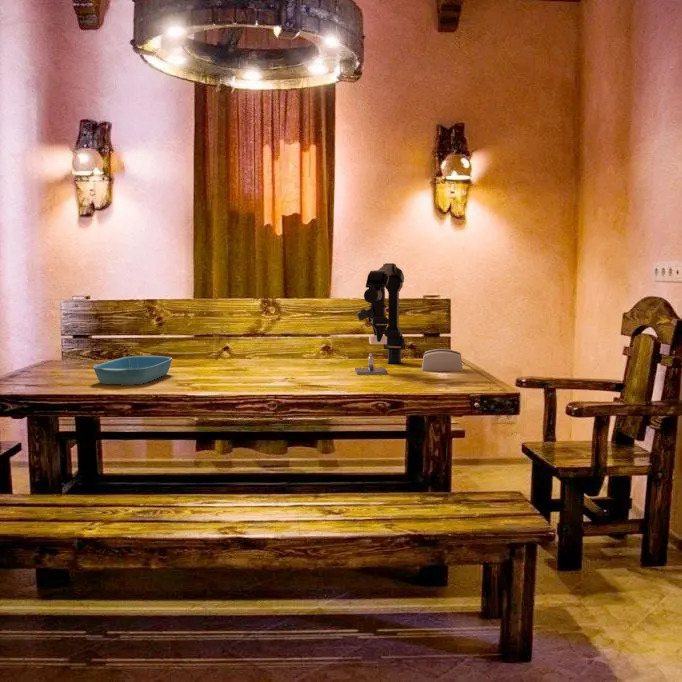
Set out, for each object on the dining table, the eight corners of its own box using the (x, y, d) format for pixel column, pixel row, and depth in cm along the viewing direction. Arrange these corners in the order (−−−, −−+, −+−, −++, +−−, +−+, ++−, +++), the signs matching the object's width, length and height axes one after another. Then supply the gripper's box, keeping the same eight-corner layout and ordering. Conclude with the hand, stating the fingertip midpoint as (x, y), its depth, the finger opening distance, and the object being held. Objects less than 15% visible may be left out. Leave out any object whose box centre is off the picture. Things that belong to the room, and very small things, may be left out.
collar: (369, 342, 296) (369, 335, 295) (384, 342, 296) (384, 335, 296) (370, 344, 289) (371, 336, 289) (386, 344, 290) (386, 336, 289)
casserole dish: (142, 388, 260) (141, 368, 259) (84, 387, 263) (83, 367, 262) (180, 373, 296) (179, 355, 295) (128, 372, 299) (127, 355, 299)
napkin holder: (462, 369, 299) (463, 347, 295) (462, 374, 295) (463, 352, 291) (421, 368, 301) (421, 347, 297) (421, 374, 297) (421, 352, 293)
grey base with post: (354, 370, 298) (354, 352, 298) (383, 369, 299) (383, 351, 298) (357, 374, 286) (357, 355, 286) (387, 374, 287) (387, 355, 286)
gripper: (355, 301, 300) (355, 339, 301) (360, 303, 281) (360, 343, 283) (382, 301, 301) (382, 339, 302) (388, 303, 282) (388, 343, 284)
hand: (377, 341), depth 293 cm, fingers closed on collar, 6 cm apart
